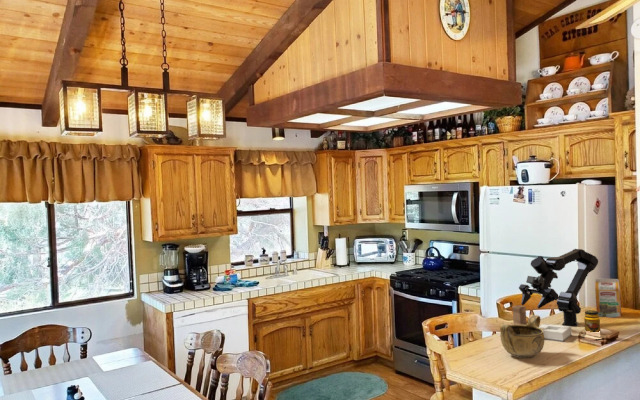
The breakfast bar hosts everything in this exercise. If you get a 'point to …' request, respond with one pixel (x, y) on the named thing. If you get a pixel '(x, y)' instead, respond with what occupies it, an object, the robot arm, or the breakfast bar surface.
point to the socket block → (556, 332)
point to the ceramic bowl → (523, 338)
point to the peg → (519, 315)
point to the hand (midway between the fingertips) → (530, 306)
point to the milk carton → (608, 298)
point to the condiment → (592, 321)
